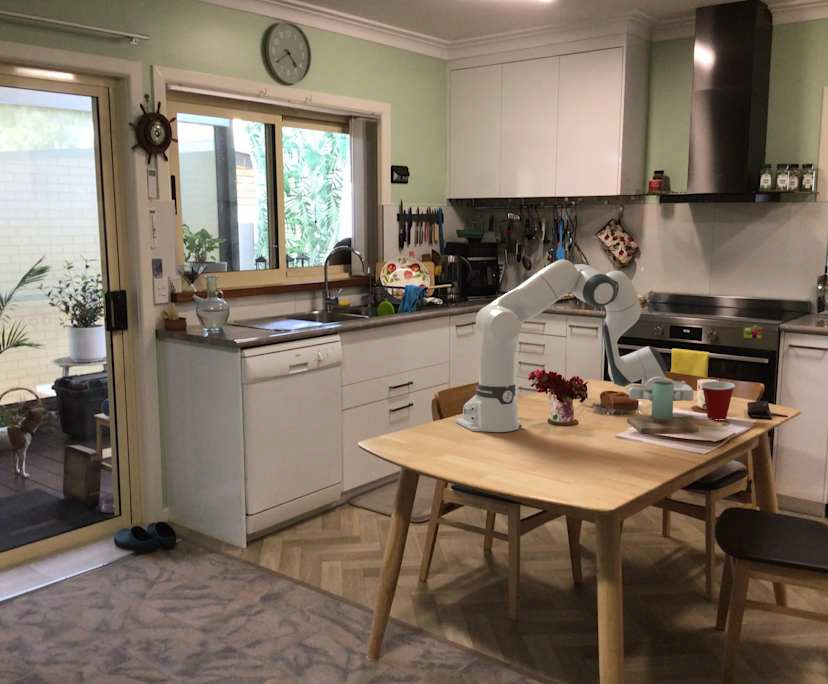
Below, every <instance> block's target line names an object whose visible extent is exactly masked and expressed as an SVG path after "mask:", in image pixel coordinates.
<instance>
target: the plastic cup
mask: <svg viewBox="0 0 828 684" xmlns="http://www.w3.org/2000/svg"><path fill="white" fill-rule="evenodd" d="M700 386H701V388H702V390H703V395H704V405H705V409H706V416H707V419H708V418H712V419H718V420H719V419H726V420H727V416H728V411H729V408H730V403H731V400H732V395H733V392H734V390H735V388H736V385H735V383H733V382H728V381H720V380H714V381H705V382H702V383H701V384H700ZM718 420H717V421H718Z"/></svg>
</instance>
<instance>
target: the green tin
mask: <svg viewBox="0 0 828 684" xmlns="http://www.w3.org/2000/svg"><path fill="white" fill-rule="evenodd" d="M673 391H674V383H671V382H663V381H658V382H653V390H652V394H653V397H652V398H653V400H652V402H651V417H653V418H656V419H672V418H673V417H674V416H673V413H674V412H673V411H674V401H673Z"/></svg>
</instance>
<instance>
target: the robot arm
mask: <svg viewBox="0 0 828 684" xmlns="http://www.w3.org/2000/svg"><path fill="white" fill-rule="evenodd" d="M570 293H571V294H572V295H573V296H575V297H576V298H577V299H579V300H580V301H581V302H583V303H586V304H587V305H588V306H591V307H595V308H601V307H604V308H605V310H606V314H605V315H606V317H605V319H604V320H603V321H602V324H601V330H602V331H601V332H602V337H603V343H604V348H605V354H606V359H607V365H608V368H607V369H608V375H609V378H610V380H611V381H612V383H613V384H614V385H616V386H618V387H622V388H623V387H624V388H625V387H627V386H629V387H628V388H626V392H627V393H628V398H629V400H649V401H650V402H651V403H652V400H653V398H652V397H653V394H652V390H653V382H658V381H663V382H671V383H674V391H673V402H681V401H682V402H683V401H688V402H691V401H693V400H694V395H695V394H694V392H695V391H694V389H693V387H691V386H690V385H689V384H686V381H685V380H679V379H672V378H669V377H666V374H667V370H668V368H667V365H666V362H665V360H664V358H663V356H662V354H661V353H660V351H659V350H658V349H657V348H655V347H654V346H650V345H648V346H645V347H643V348H640V349H637V350H635V351H632V352H630V353H628V354H625V355H622V356H620V353H619V348H618V347H619V346H618V341H619V339H620V338H621V336H622V335H623V334H625V332H627V331H628V330H629V329H631V328H632V327H633V326H634V325H635V324H636V323H637V322H638V320H639V319H640V318H641V317H640V316H641V314H642V306H641V305H642V304H641V302H640V299H639V296H638V294H637V291H636V288H635V287H634V285H633V283H632V281H631V280H630V279H629V277H628V276H627V275H626V273H625V272H623V271H620V270H612V271H609V272H607V273H606V274H605V273H604V272H602V271H600V270H599V269H598V268H596V267H594V266H592V265H589V264H588V263H585V262H581V261H580V262H579V261H577V262H571V261H569V260H567V259H559V260H558V259H557V260H556V261H554V262H552V263H550V264H548V265H546V266H545V267H543V268H542V269H540V270H539V271H536V273H534V274H533V275H532V276H530V277H528V279H526V280H525V281H523V282H522V283H521V284H519V285H518V286H516V287H515V288H514V289H512V290H510V291H508V292H507V293H505V294H503V295H501V296H500V297H498V298H496V299H495V300H493V301H492V302H490V303H489V304H487V305H485V306H484V307H482V308H481V309H480V310H479V311H478V312H477V314H476V317H475V326H476V329H477V331H478V332H479V334H481V336H482V338H483V339H482V346H481V353H480V357H479V371H478V375H479V377H478V378H479V379H478V382H479V383H477V384H474V389H476V390H475V394H474V396H472V397H471V398H470V399H469V400H468V401H467V402H466V403H464V405H463V408H462V416H461V417H458V418H456V419H455V423H457V424H458V425H461V426H463V427H464V428H466V429H468V430H469V431H473V432H488V433H490V432H491V433H506V432H513V431H516V430H519V427H520V426H521V421H520V420H519V413H518V411H519V410H518V403H517V399H516V398H515V396H516V391H517V389H516V384H515V359H516V352H517V347H518V340H519V334H520V333H521V328H522V327H521V324H523V323H525V322H527V321H529V320H531V319H533V318H536V317H537V316H539V315H541V314H542V313H543V312H545V311H546V310H547V309H548V308H549V307H552V305H554V304H555V303H556V302H557V301H559V300H560V299H561V298H563V297H564V296H565V295H568V294H570ZM640 380H641V384H633V383H635V382H638V381H640ZM632 384H633V385H632Z"/></svg>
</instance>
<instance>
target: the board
mask: <svg viewBox="0 0 828 684" xmlns="http://www.w3.org/2000/svg"><path fill="white" fill-rule="evenodd" d="M626 422H627V423H628V424H629V425H630V426H632V427H633V428H634V429H635V430H636V431H637V432H639V433H640V434H688V433H687V432H699V429H700V428H699V427H697V426H696V425H695V424H694V423H692V422H690V421H688V420H687V419H685V418H683V417H682V416H679V417H678V416H673V418H672V419H656V418H653V417H652V416H649V417H648V416H647V417H646V416H644V417H643V416H641V417H640V416H638V417H637V416H632V417H630V416H628V417H627V416H626Z"/></svg>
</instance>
